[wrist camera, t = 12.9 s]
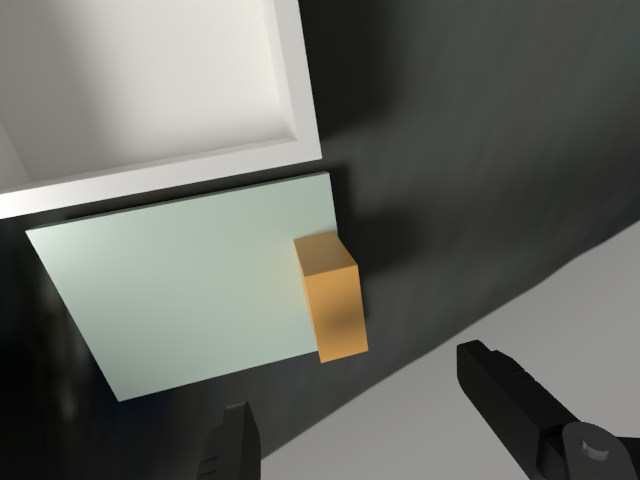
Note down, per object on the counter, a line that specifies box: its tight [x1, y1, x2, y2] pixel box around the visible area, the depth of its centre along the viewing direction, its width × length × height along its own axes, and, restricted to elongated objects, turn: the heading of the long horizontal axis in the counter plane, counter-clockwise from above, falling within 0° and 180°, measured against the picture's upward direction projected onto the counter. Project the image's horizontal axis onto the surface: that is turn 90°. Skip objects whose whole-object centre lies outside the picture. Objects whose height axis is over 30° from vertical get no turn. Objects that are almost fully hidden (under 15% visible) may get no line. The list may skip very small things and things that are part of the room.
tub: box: [0, 0, 322, 219], centre depth 12 cm, size 15×11×7 cm
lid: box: [26, 171, 368, 402], centre depth 17 cm, size 16×12×7 cm
